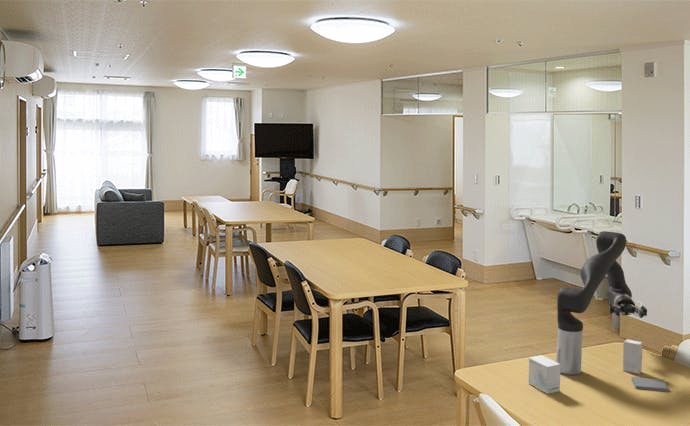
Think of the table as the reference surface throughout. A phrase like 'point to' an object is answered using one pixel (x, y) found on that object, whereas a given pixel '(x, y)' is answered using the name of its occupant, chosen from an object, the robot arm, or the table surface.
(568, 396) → the table surface
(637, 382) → the mat
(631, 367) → the skincare box
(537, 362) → the skincare box
